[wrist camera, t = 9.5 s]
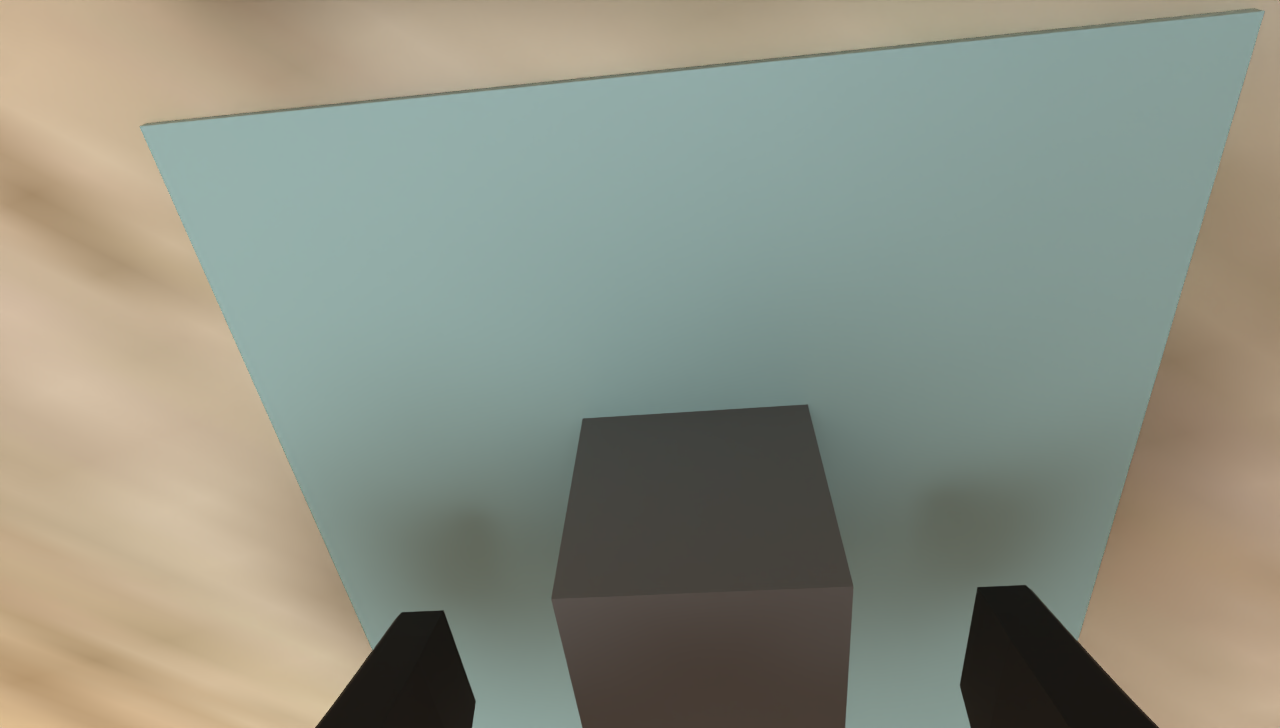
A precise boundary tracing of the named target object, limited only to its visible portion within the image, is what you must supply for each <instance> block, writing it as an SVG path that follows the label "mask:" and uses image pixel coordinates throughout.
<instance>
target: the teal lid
mask: <svg viewBox="0 0 1280 728" xmlns="http://www.w3.org/2000/svg"><path fill="white" fill-rule="evenodd" d="M1264 12H1265V11H1263V10H1258V9H1245V10H1236V11H1226V12H1216V13H1207V14H1197V15H1188V16H1178V17H1168V18H1159V19H1149V20H1139V21H1130V22H1120V23H1110V24H1101V25H1091V26H1082V27H1072V28H1062V29H1053V30H1043V31H1033V32H1024V33H1014V34H1004V35H995V36H985V37H976V38H966V39H956V40H947V41H937V42H927V43H918V44H908V45H898V46H889V47H879V48H870V49H860V50H850V51H841V52H831V53H821V54H812V55H802V56H792V57H783V58H773V59H764V60H754V61H744V62H735V63H725V64H715V65H706V66H696V67H686V68H677V69H667V70H658V71H648V72H638V73H629V74H619V75H609V76H600V77H590V78H580V79H571V80H561V81H552V82H542V83H532V84H523V85H513V86H503V87H494V88H484V89H474V90H465V91H455V92H446V93H436V94H426V95H417V96H407V97H397V98H388V99H378V100H368V101H359V102H349V103H340V104H330V105H320V106H311V107H301V108H291V109H282V110H272V111H262V112H253V113H243V114H234V115H224V116H214V117H205V118H195V119H185V120H176V121H166V122H156V123H147V124H144V125H142V126H140V129H141V131H142V133H143V135H144V138H145V140H146V142H147V144H148V147H149V149H150V151H151V153H152V156H153V158H154V160H155V162H156V165H157V167H158V169H159V171H160V174H161V176H162V178H163V180H164V183H165V185H166V187H167V189H168V192H169V194H170V196H171V198H172V201H173V203H174V205H175V207H176V210H177V212H178V214H179V216H180V219H181V221H182V223H183V225H184V228H185V230H186V232H187V234H188V237H189V239H190V241H191V243H192V246H193V248H194V250H195V252H196V255H197V257H198V259H199V261H200V264H201V266H202V268H203V270H204V273H205V275H206V277H207V279H208V282H209V284H210V286H211V288H212V291H213V293H214V295H215V297H216V300H217V302H218V304H219V306H220V308H221V311H222V313H223V315H224V317H225V320H226V322H227V324H228V326H229V329H230V331H231V333H232V335H233V338H234V340H235V342H236V344H237V347H238V349H239V351H240V353H241V356H242V358H243V360H244V362H245V365H246V367H247V369H248V371H249V374H250V376H251V378H252V380H253V383H254V385H255V387H256V389H257V392H258V394H259V396H260V398H261V401H262V403H263V405H264V407H265V410H266V412H267V414H268V416H269V419H270V421H271V423H272V425H273V428H274V430H275V432H276V434H277V437H278V439H279V441H280V443H281V446H282V448H283V450H284V452H285V455H286V457H287V459H288V461H289V464H290V466H291V468H292V470H293V473H294V475H295V477H296V479H297V482H298V484H299V486H300V488H301V491H302V493H303V495H304V497H305V500H306V502H307V504H308V506H309V509H310V511H311V513H312V515H313V518H314V520H315V522H316V524H317V527H318V529H319V531H320V533H321V536H322V538H323V540H324V542H325V544H326V547H327V549H328V551H329V553H330V556H331V558H332V560H333V562H334V565H335V567H336V569H337V571H338V574H339V576H340V578H341V580H342V583H343V585H344V587H345V589H346V592H347V594H348V596H349V598H350V601H351V603H352V605H353V607H354V610H355V612H356V614H357V616H358V619H359V621H360V623H361V625H362V628H363V630H364V632H365V634H366V637H367V639H368V641H369V643H370V646H371V648H372V650H373V649H374V648H375V646H376V645H377V644H378V642H379V641H380V639H381V638H382V637H383V635H384V634H385V632H386V631H387V630H388V628H389V627H390V626H391V624H392V623H393V621H394V620H395V619H396V618H397V616H398V615H399V614H400V613H401V612H416V611H439V610H444V613H445V615H446V618H447V621H448V624H449V627H450V630H451V632H452V635H453V638H454V641H455V644H456V647H457V649H458V652H459V655H460V658H461V661H462V663H463V666H464V669H465V672H466V675H467V678H468V680H469V683H470V686H471V689H472V692H473V695H474V697H475V700H476V704H475V711H474V718H473V725H472V728H971V727H970V723H969V719H968V715H967V712H966V708H965V704H964V700H963V696H962V693H961V689H960V680H961V675H962V669H963V664H964V658H965V653H966V647H967V642H968V636H969V631H970V625H971V619H972V614H973V608H974V603H975V597H976V592H977V587H990V586H1013V585H1026V586H1028V587H1029V588H1030V589H1031V590H1032V591H1033V592H1034V593H1035V594H1036V595H1037V596H1038V597H1039V599H1040V600H1041V601H1042V602H1043V603H1044V604H1045V605H1046V606H1047V608H1048V609H1049V610H1050V611H1051V612H1052V613H1053V614H1054V615H1055V617H1056V618H1057V619H1058V620H1059V621H1060V622H1061V623H1062V625H1063V626H1064V627H1065V628H1066V629H1067V630H1068V631H1069V632H1070V633H1071V635H1072V636H1073V637H1074V638H1075V639H1076V640H1077V641H1078V638H1079V635H1080V631H1081V628H1082V625H1083V621H1084V618H1085V615H1086V611H1087V608H1088V604H1089V601H1090V598H1091V594H1092V591H1093V588H1094V584H1095V581H1096V578H1097V574H1098V571H1099V567H1100V564H1101V561H1102V557H1103V554H1104V551H1105V547H1106V544H1107V540H1108V537H1109V534H1110V530H1111V527H1112V524H1113V520H1114V517H1115V514H1116V510H1117V507H1118V503H1119V500H1120V497H1121V493H1122V490H1123V487H1124V483H1125V480H1126V476H1127V473H1128V470H1129V466H1130V463H1131V460H1132V456H1133V453H1134V450H1135V446H1136V443H1137V439H1138V436H1139V433H1140V429H1141V426H1142V423H1143V419H1144V416H1145V412H1146V409H1147V406H1148V402H1149V399H1150V396H1151V392H1152V389H1153V386H1154V382H1155V379H1156V375H1157V372H1158V369H1159V365H1160V362H1161V359H1162V355H1163V352H1164V348H1165V345H1166V342H1167V338H1168V335H1169V332H1170V328H1171V325H1172V322H1173V318H1174V315H1175V311H1176V308H1177V305H1178V301H1179V298H1180V295H1181V291H1182V288H1183V285H1184V281H1185V278H1186V274H1187V271H1188V268H1189V264H1190V261H1191V258H1192V254H1193V251H1194V247H1195V244H1196V241H1197V237H1198V234H1199V231H1200V227H1201V224H1202V221H1203V217H1204V214H1205V210H1206V207H1207V204H1208V200H1209V197H1210V194H1211V190H1212V187H1213V183H1214V180H1215V177H1216V173H1217V170H1218V167H1219V163H1220V160H1221V157H1222V153H1223V150H1224V146H1225V143H1226V140H1227V136H1228V133H1229V130H1230V126H1231V123H1232V119H1233V116H1234V113H1235V109H1236V106H1237V103H1238V99H1239V96H1240V93H1241V89H1242V86H1243V82H1244V79H1245V76H1246V72H1247V69H1248V66H1249V62H1250V59H1251V55H1252V52H1253V49H1254V45H1255V42H1256V39H1257V35H1258V32H1259V29H1260V25H1261V22H1262V18H1263V15H1264Z"/></svg>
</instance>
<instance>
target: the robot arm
mask: <svg viewBox="0 0 1280 728" xmlns="http://www.w3.org/2000/svg"><path fill="white" fill-rule="evenodd" d="M960 689H961V693H962V696H963V700H964V704H965V708H966V712H967V715H968V719H969V723H970V727H971V728H1159V727H1158V726H1157V725H1156V724H1155V723H1154V722H1153V721H1152V720H1151V719H1150V718H1149V717H1148V716H1147V715H1146V714H1145V713H1144V712H1143V711H1142V710H1141V709H1140V708H1139V707H1138V706H1137V705H1136V704H1135V703H1134V702H1133V701H1132V700H1131V699H1130V697H1129V696H1128V695H1127V694H1126V693H1125V692H1124V691H1123V690H1122V689H1121V688H1120V687H1119V686H1118V685H1117V684H1116V683H1115V682H1114V681H1113V679H1112V678H1111V677H1110V676H1109V675H1108V674H1107V673H1106V672H1105V671H1104V670H1103V669H1102V667H1101V666H1100V665H1099V664H1098V663H1097V662H1096V661H1095V660H1094V659H1093V658H1092V657H1091V656H1090V654H1089V653H1088V652H1087V651H1086V650H1085V649H1084V648H1083V647H1082V646H1081V645H1080V643H1079V642H1078V641H1077V640H1076V639H1075V638H1074V637H1073V636H1072V635H1071V633H1070V632H1069V631H1068V630H1067V629H1066V628H1065V627H1064V626H1063V625H1062V623H1061V622H1060V621H1059V620H1058V619H1057V618H1056V617H1055V615H1054V614H1053V613H1052V612H1051V611H1050V610H1049V609H1048V608H1047V606H1046V605H1045V604H1044V603H1043V602H1042V601H1041V600H1040V599H1039V597H1038V596H1037V595H1036V594H1035V593H1034V592H1033V591H1032V590H1031V589H1030V588H1029V587H1028V586H1026V585H1013V586H990V587H977V592H976V597H975V603H974V608H973V614H972V619H971V625H970V631H969V636H968V642H967V647H966V653H965V658H964V664H963V669H962V675H961V680H960ZM475 704H476V700H475V697H474V695H473V692H472V689H471V686H470V683H469V680H468V678H467V675H466V672H465V669H464V666H463V663H462V661H461V658H460V655H459V652H458V649H457V647H456V644H455V641H454V638H453V635H452V632H451V630H450V627H449V624H448V621H447V618H446V615H445V613H444V610H439V611H416V612H401V613H400V614H399V615H398V616H397V618H396V619H395V620H394V621H393V623H392V624H391V626H390V627H389V628H388V630H387V631H386V632H385V634H384V635H383V637H382V638H381V639H380V641H379V642H378V644H377V645H376V646H375V648H374V649H373V651H372V652H371V653H370V655H369V656H368V657H367V659H366V660H365V662H364V663H363V664H362V666H361V667H360V668H359V670H358V671H357V673H356V674H355V675H354V677H353V678H352V679H351V681H350V682H349V684H348V685H347V686H346V688H345V689H344V690H343V692H342V693H341V694H340V696H339V697H338V698H337V700H336V701H335V702H334V704H333V705H332V707H331V708H330V709H329V711H328V712H327V713H326V714H325V716H324V717H323V718H322V720H321V721H320V722H319V724H318V725H317V726H316V727H315V728H472V725H473V718H474V711H475Z"/></svg>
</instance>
